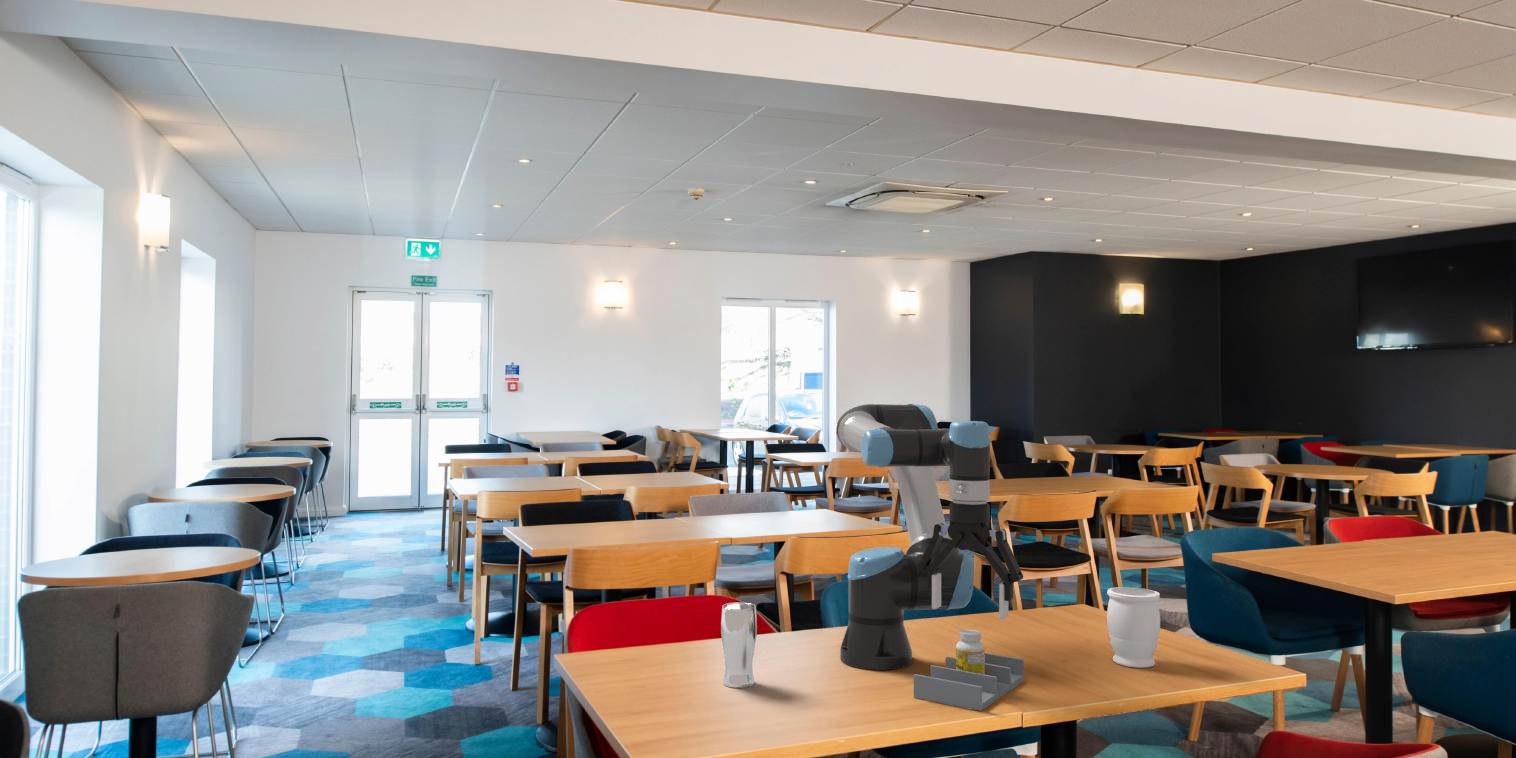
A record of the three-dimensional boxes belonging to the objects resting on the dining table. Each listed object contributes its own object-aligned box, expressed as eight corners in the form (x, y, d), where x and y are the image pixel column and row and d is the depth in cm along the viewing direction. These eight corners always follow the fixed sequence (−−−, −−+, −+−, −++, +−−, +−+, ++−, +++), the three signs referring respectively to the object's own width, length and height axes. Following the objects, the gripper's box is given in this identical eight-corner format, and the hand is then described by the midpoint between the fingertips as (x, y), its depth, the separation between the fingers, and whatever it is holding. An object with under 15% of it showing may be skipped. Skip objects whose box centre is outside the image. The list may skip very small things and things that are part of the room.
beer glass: (725, 690, 173) (725, 610, 174) (717, 679, 180) (717, 603, 180) (760, 687, 175) (761, 608, 176) (751, 676, 182) (751, 601, 182)
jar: (1166, 671, 186) (1165, 597, 186) (1112, 668, 188) (1111, 595, 189) (1154, 657, 196) (1153, 587, 197) (1103, 654, 198) (1102, 585, 199)
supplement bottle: (988, 686, 172) (988, 635, 172) (960, 686, 171) (960, 635, 172) (980, 678, 177) (979, 628, 177) (952, 678, 177) (952, 628, 177)
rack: (913, 697, 169) (913, 674, 169) (961, 669, 187) (961, 648, 187) (980, 711, 161) (980, 687, 162) (1023, 680, 180) (1023, 659, 180)
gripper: (901, 498, 180) (901, 606, 179) (1026, 508, 165) (1026, 626, 165) (918, 495, 186) (918, 599, 185) (1040, 504, 171) (1040, 617, 171)
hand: (969, 612), depth 175 cm, fingers open, 13 cm apart
